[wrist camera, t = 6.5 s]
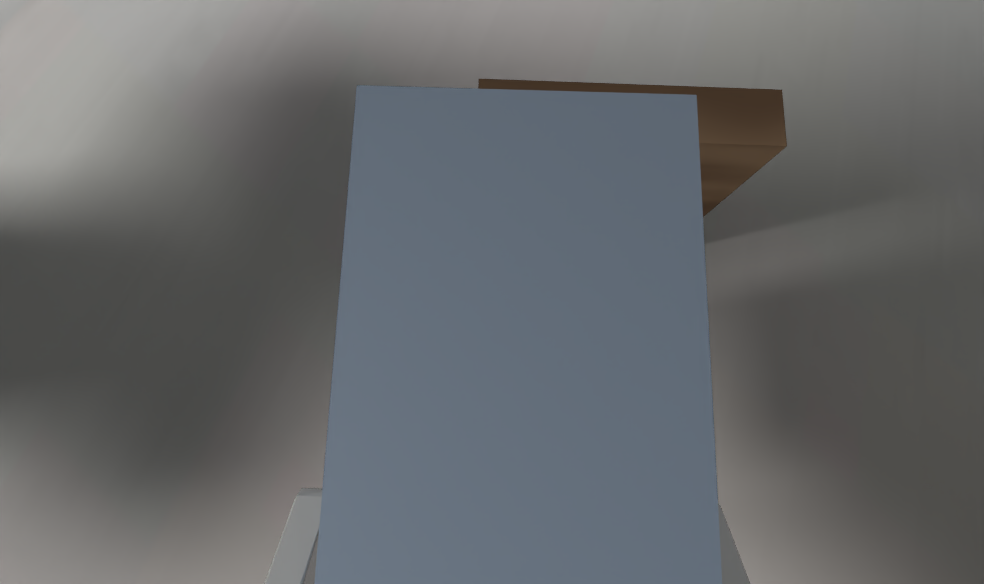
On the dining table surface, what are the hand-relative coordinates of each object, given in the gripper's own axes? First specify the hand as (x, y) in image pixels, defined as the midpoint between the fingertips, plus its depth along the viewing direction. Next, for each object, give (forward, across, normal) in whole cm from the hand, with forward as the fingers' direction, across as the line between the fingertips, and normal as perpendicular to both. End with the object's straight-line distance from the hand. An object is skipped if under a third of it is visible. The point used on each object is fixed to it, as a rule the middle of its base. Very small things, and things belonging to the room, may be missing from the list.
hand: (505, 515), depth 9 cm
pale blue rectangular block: (+6, 0, +4) cm, 7 cm away
